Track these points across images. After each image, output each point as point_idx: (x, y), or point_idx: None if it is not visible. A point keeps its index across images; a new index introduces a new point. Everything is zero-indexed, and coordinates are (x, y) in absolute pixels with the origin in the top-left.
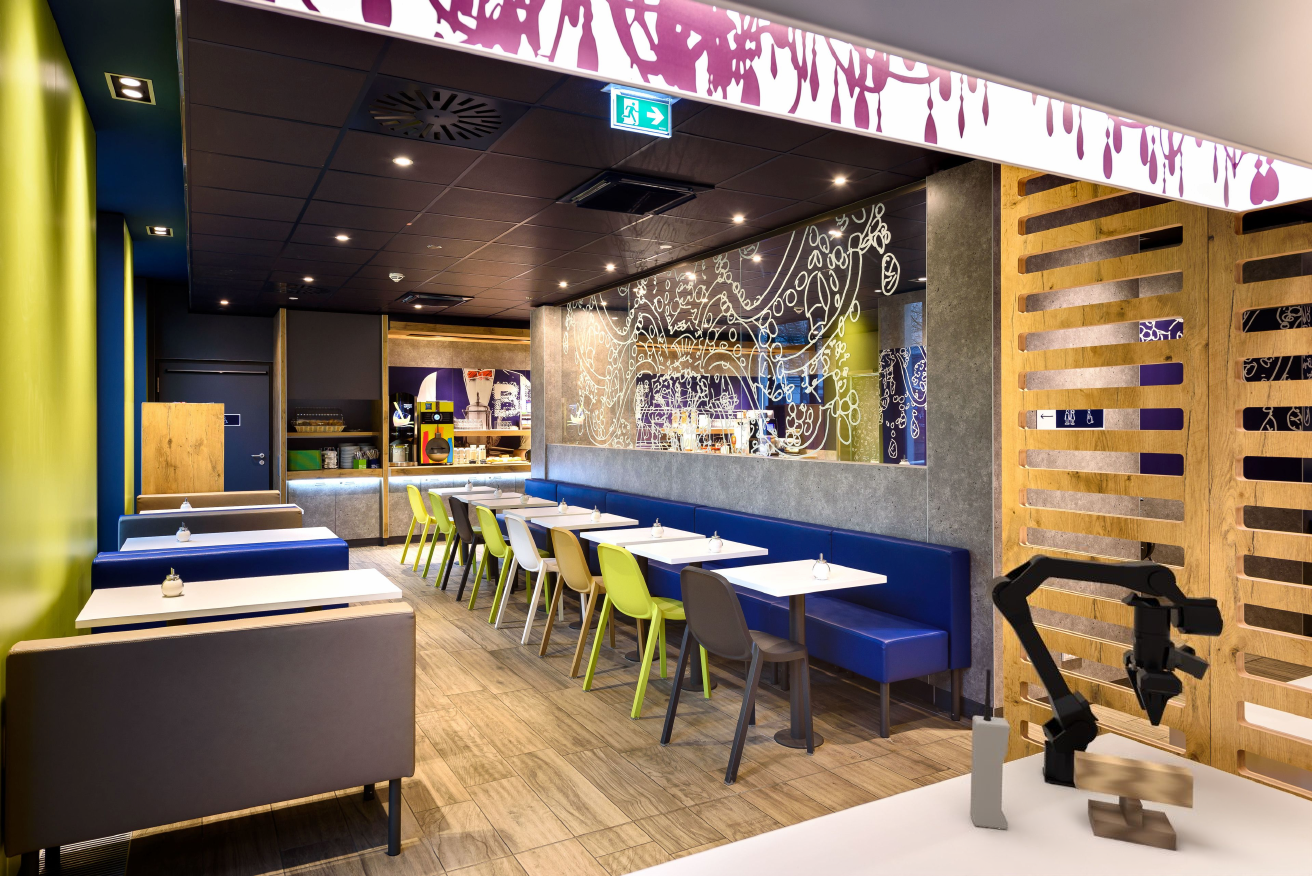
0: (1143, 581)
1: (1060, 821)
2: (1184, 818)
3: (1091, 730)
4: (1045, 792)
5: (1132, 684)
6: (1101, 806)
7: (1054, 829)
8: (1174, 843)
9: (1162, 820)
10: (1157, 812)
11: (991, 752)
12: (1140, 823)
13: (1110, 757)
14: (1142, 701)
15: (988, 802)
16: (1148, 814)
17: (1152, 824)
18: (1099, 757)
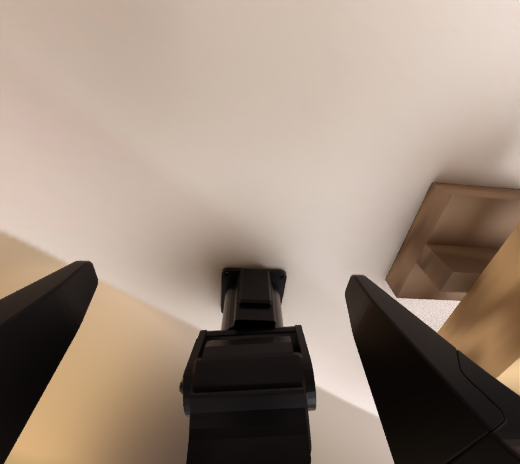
0: None
1: (412, 310)
2: (385, 126)
3: (312, 372)
4: (315, 314)
5: (2, 459)
6: (425, 286)
7: (436, 317)
8: None
9: (488, 209)
10: (451, 208)
11: None
12: None
13: (516, 369)
14: (70, 317)
15: None
16: (461, 227)
17: (502, 230)
18: (513, 383)
